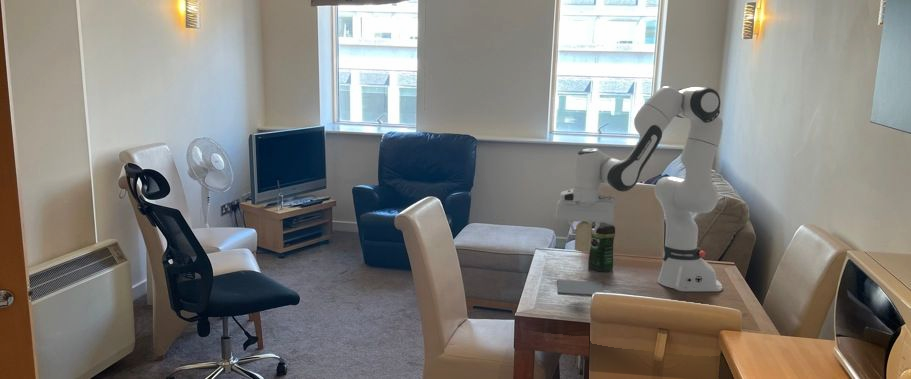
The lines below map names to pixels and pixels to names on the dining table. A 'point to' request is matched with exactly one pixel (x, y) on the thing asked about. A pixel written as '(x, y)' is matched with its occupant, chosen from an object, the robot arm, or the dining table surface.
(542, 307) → the dining table surface
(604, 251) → the coffee jar
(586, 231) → the candle
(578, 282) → the placemat
